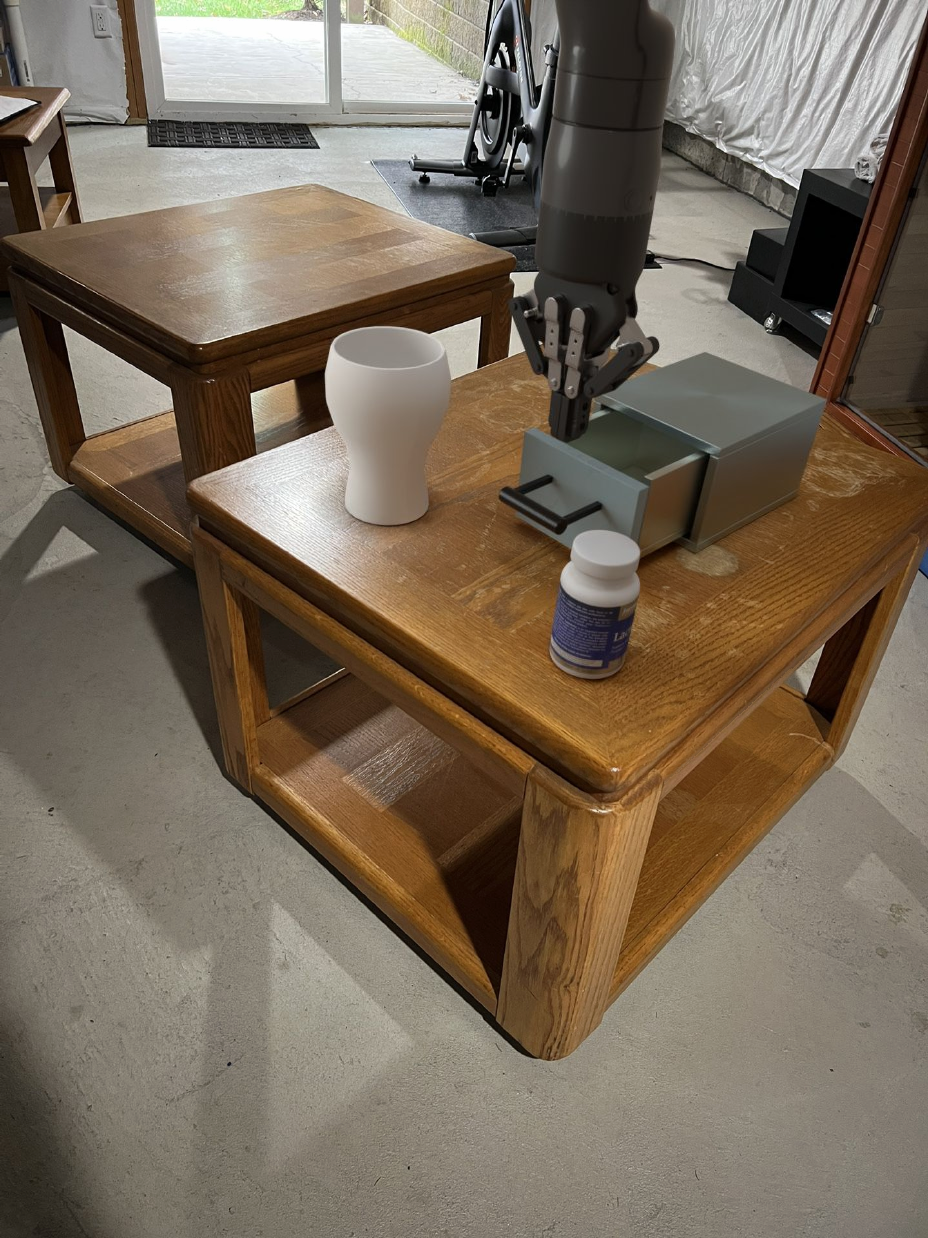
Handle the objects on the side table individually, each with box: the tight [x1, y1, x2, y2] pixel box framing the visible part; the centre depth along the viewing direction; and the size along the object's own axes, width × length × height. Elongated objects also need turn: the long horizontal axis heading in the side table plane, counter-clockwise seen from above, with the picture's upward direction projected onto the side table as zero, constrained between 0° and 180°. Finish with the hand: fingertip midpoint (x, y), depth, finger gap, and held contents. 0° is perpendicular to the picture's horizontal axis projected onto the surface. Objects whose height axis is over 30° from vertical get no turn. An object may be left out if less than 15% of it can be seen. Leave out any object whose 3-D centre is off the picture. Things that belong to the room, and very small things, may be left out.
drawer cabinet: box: [591, 351, 828, 554], centre depth 88 cm, size 17×14×10 cm
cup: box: [324, 325, 452, 526], centre depth 82 cm, size 11×11×15 cm
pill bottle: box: [549, 530, 641, 680], centre depth 67 cm, size 6×6×10 cm
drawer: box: [498, 407, 711, 560], centre depth 81 cm, size 21×13×8 cm, turn 132°
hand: (565, 436), depth 72 cm, fingers closed
